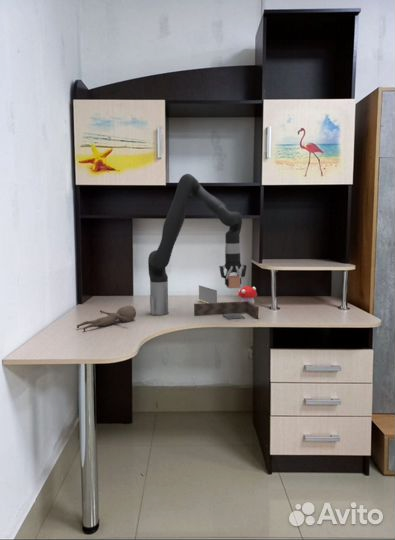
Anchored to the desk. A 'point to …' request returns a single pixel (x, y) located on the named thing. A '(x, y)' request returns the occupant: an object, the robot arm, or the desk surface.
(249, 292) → the mushroom
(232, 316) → the pad
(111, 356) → the desk surface
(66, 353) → the desk surface
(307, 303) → the desk surface
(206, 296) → the sign holder
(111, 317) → the toy
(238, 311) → the brown wooden corner barrier
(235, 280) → the block
